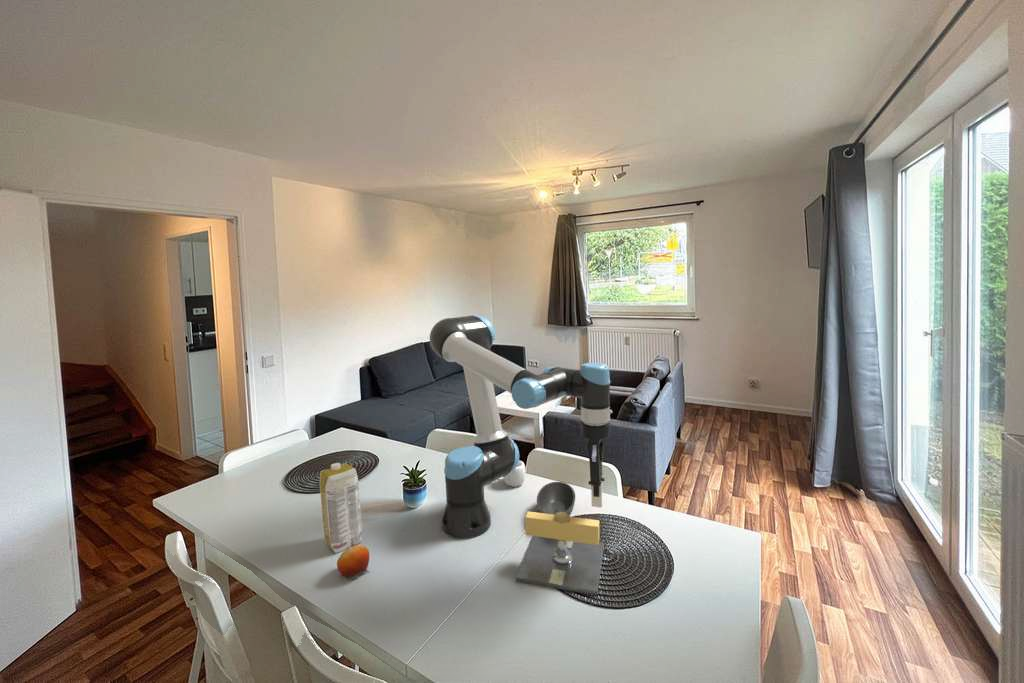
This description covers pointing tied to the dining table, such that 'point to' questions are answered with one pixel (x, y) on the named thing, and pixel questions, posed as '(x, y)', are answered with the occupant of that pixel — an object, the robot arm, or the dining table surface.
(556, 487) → the bowl
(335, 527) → the juice carton
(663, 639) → the dining table surface
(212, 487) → the dining table surface
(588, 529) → the bar
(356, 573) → the fruit
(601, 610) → the dining table surface
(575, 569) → the base
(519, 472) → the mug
